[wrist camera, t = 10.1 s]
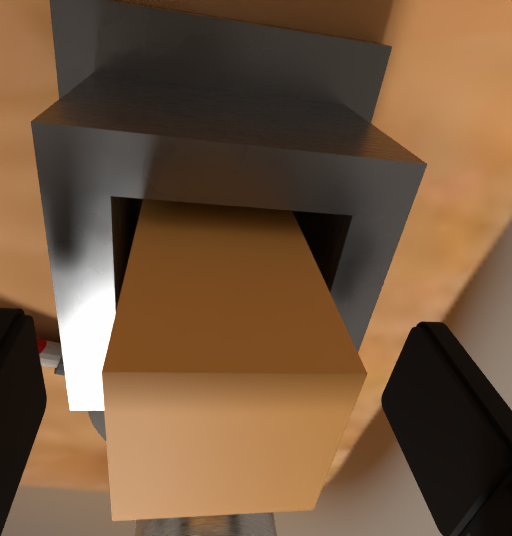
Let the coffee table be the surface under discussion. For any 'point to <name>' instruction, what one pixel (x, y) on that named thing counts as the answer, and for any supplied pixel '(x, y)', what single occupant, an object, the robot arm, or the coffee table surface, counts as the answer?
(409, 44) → the coffee table surface
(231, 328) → the orange rectangular block
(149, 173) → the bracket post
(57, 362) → the toy hammer
